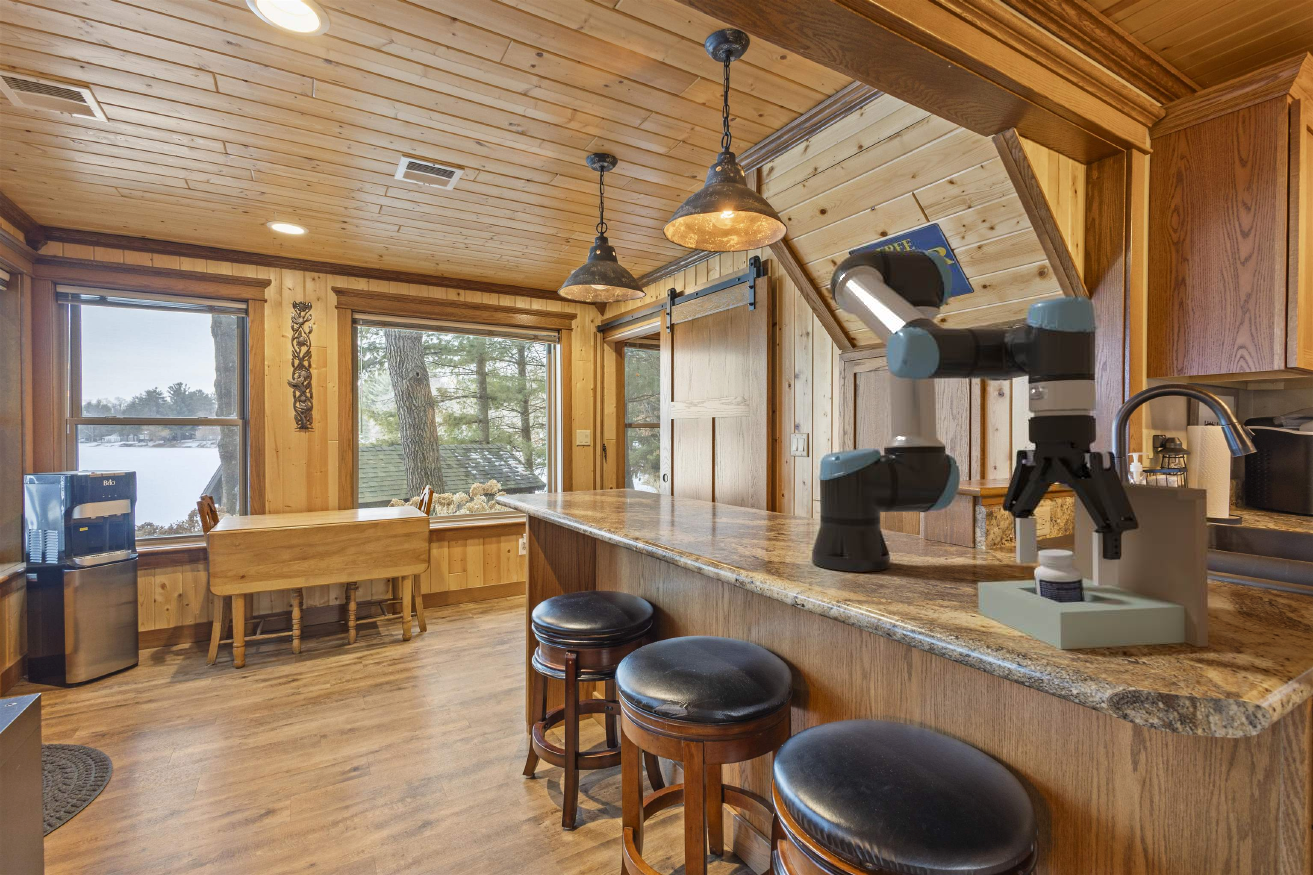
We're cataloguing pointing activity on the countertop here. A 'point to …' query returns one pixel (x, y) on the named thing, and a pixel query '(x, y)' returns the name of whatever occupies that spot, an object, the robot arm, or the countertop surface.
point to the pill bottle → (1058, 577)
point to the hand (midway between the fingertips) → (1062, 572)
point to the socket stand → (1124, 580)
